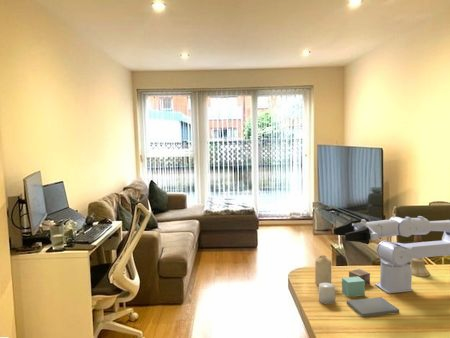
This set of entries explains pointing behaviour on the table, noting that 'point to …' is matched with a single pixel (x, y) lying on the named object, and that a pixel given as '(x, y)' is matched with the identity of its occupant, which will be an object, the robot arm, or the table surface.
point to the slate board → (372, 307)
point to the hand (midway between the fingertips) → (339, 234)
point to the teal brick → (353, 286)
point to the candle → (322, 270)
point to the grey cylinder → (327, 293)
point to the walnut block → (360, 275)
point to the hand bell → (418, 262)
